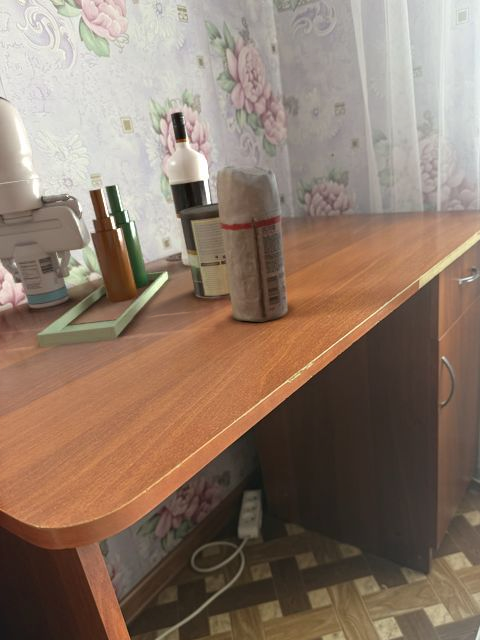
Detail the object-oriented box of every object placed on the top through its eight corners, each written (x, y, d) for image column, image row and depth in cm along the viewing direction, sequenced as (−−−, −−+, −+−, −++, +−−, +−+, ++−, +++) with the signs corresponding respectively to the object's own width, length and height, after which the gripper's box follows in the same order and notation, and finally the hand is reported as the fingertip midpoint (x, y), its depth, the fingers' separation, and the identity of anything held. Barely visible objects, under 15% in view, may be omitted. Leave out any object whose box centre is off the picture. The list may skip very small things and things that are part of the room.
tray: (40, 348, 70) (36, 335, 69) (114, 287, 99) (111, 277, 98) (117, 339, 69) (113, 326, 68) (169, 280, 98) (166, 271, 97)
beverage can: (71, 298, 95) (52, 235, 91) (70, 307, 89) (50, 240, 85) (33, 306, 94) (12, 242, 89) (29, 316, 87) (7, 248, 83)
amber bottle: (103, 304, 86) (74, 193, 79) (114, 295, 90) (86, 190, 83) (133, 301, 85) (105, 188, 78) (141, 292, 90) (116, 185, 83)
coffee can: (182, 299, 83) (164, 214, 78) (221, 282, 91) (207, 202, 86) (229, 303, 77) (214, 211, 72) (267, 284, 85) (255, 199, 80)
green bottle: (118, 292, 93) (91, 188, 86) (126, 284, 97) (102, 186, 90) (145, 288, 92) (120, 184, 85) (152, 281, 97) (130, 182, 90)
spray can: (262, 302, 76) (242, 163, 68) (302, 308, 70) (286, 158, 63) (220, 319, 71) (194, 171, 63) (260, 328, 65) (237, 167, 58)
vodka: (196, 270, 103) (166, 111, 92) (175, 265, 110) (145, 117, 99) (233, 259, 108) (209, 107, 96) (211, 256, 115) (186, 113, 103)
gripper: (83, 190, 86) (104, 268, 91) (-27, 205, 88) (-1, 281, 93) (68, 193, 80) (91, 277, 85) (-50, 210, 82) (-20, 290, 87)
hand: (42, 279), depth 89 cm, fingers closed on beverage can, 7 cm apart
